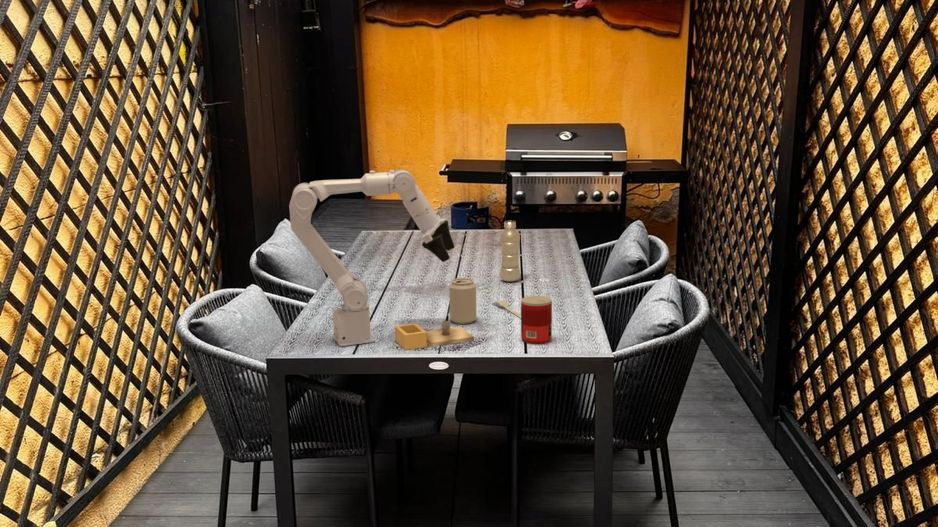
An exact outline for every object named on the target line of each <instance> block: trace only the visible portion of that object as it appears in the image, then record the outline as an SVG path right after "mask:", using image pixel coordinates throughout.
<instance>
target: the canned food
mask: <svg viewBox="0 0 938 527" xmlns="http://www.w3.org/2000/svg"><path fill="white" fill-rule="evenodd" d="M552 310H553V301H552V298H550V297H548V296H545V295H544V296H541V295H530V296H526V297H523V298H521V301H520V314H521V319H520V325H521V326H520V338H521V340H522V342H523V343H525V344H529V343H530V345H544V344H548V343H549V342H551V340H552V336H553V335H552V334H553V333H552V332H553V331H552V326H553V324H552V322H553V318H552V317H553V316H552V315H553V312H552Z"/></svg>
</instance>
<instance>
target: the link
mask: <svg viewBox="0 0 938 527" xmlns="http://www.w3.org/2000/svg"><path fill="white" fill-rule="evenodd" d="M426 331H427V330H425V329H423V328H422V327H421V326H419V325H418V324H417V323H416V322H415V323H409V324H402V325H401V324H400V325H395V326H394V339H395V343H397V344H398V345H399V346H400V347H402V349H404V350H405V351H408V350H415V349H416V350H417V349H420V348H421V349H422V348H428V343H427V333H426Z"/></svg>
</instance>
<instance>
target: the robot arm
mask: <svg viewBox="0 0 938 527" xmlns="http://www.w3.org/2000/svg"><path fill="white" fill-rule="evenodd" d="M359 192H362V193H363V194H365V196H367V197H369V196H370V197H371V196H384V195H385V196H386V195H392V194H394V193H395V194H397V195H398V196H399V197H400V199H401V200H402V203H403V206H404V207H405V209H406V210H407V212H408V213H409V215H410V216H411V218H412V220H413V221H414V222H415V224H416V226H417V227H418V230H420V233H421V239H422V240H423V241H422V244H421V246H422V247H423V249H426V250H427V251H430V252H431V253H432V254H433V255H434V256H436V257H437V259H439V260H440V261H441V262H442V263H444V262H446V261H448V260H450V255H449V253H448V251H451V250H453V249H454V248H455V244H454V241H453V238H452V234H451V232H450V226H449V225H450V224H449V221H448V220H446V219H445V218H444V217H441V216H440V215H439V214H437V213H436V212H435V210H434V209H433V207H432V205H431V204H430V202H429V201H428V199H427V198H426V195H425V194H424V193H423V191H422V190H420V187H419V186H418V184H416V179H415V177H413V175H412V174H411V172H409V171H407V170H404V169H396V170H395V171H394V169H390V170H389V171H385V172H376V171H375V170H369V173H364V175H363V176H362V177H361V178H352V179H351V178H349V179H348V178H346V179H345V178H344V179H323V180H322V179H321V180H313V181H310V182H309V183H308V182H302V183H299V184H297V185H296V186H295V187H294V188H293V191H292V194H291V195H292V196H291V199H290V201H289V206H288V207H289V220H290V221H289V222H290V229H291V230H292V232H293V233H294V235H295V236H296V237H297V238H298V240H299V241H300V242H301V244H302V245H303V246H304V247H305V248H306V250H307V252H309V253H310V255H311V256H312V257H313V259H314V260H315V261H316V263H317V264H318V265H319V266H320V267H321V268H322V270H323V271H324V272H325V274H326V275H327V276H328V278H329V279H330V280H331V281H332V282H333V283H334V286H335V287H336V289H337V291H338V293H339V294H340V295H341V297H342V301H343V304H341V308H339V309H335V310H334V311H333V312H332V324H333V326H332V327H333V337H332V338H333V339H334V341H335V342H336V343H337V344H338V346H340V347H347V346H353V345H354V346H355V345H361V344H368V343H375V342H376V339H375V337H373V335H371V315H370V312H371V311H370V304H369V303H368V300H369V298H368V294H367V287H366V284H365V283H364V282H363V281H362V280H361V279H358V278H356V277H355V276H354V275H353V273H352V272H350V271H349V270H348V269H347V268H346V267H345V265H344V264H343V262H342V261H341V260H340V259H339V258H338V256H337V255H336V254H335V252H334V251H333V250H332V249H331V247H330V246H329V245H328V244H327V242H326V241H325V240H324V239H323V237H322V235H320V234H319V233H318V231H317V230H316V229H315V227H314V226H313V225H312V223H311V220H312V215H313V212H314V210H315V208H316V205H317V204H318V200H319V202H323V201H324V200H326V199H327V198H328V197H329V196H331V195H339V194H350V193H359Z"/></svg>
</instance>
